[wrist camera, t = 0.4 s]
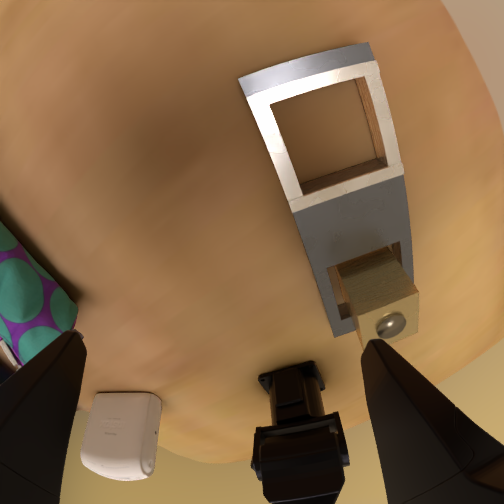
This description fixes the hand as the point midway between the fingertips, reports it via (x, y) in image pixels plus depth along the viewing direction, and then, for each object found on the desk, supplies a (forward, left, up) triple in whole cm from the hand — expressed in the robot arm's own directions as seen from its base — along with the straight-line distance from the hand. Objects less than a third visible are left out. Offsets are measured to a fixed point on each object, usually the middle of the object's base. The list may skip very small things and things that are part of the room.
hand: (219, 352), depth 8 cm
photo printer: (-21, +25, -14) cm, 35 cm away
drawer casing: (-5, -7, -13) cm, 16 cm away
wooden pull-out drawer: (-11, -7, -13) cm, 19 cm away
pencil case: (+4, +22, -14) cm, 26 cm away
